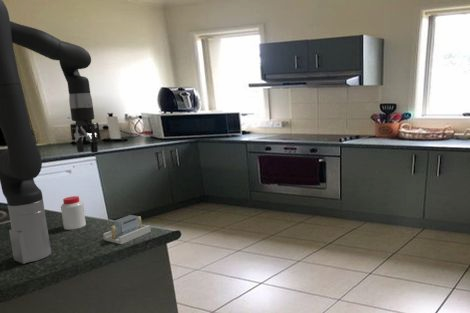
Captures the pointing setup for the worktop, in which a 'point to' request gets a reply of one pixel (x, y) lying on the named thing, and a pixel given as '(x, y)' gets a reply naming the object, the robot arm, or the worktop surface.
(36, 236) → the robot arm
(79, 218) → the pill bottle
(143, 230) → the white peg stand
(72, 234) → the worktop surface
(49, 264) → the worktop surface
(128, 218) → the block
